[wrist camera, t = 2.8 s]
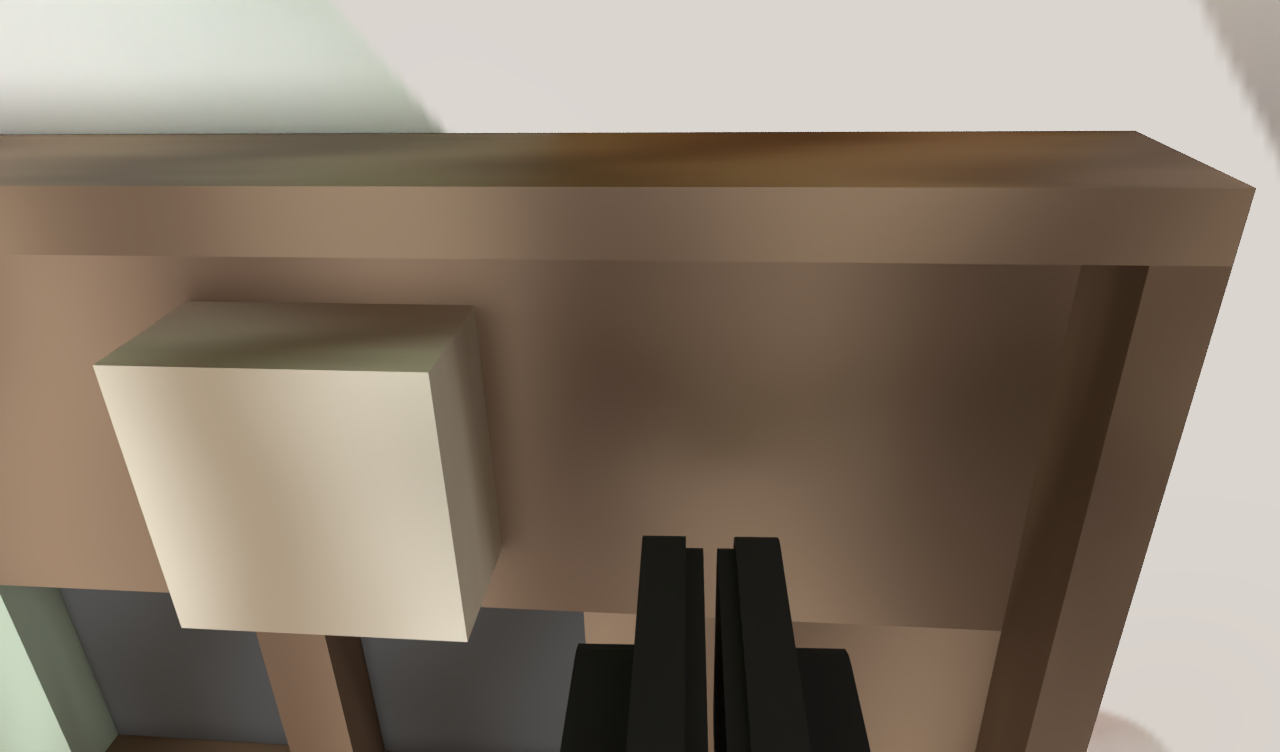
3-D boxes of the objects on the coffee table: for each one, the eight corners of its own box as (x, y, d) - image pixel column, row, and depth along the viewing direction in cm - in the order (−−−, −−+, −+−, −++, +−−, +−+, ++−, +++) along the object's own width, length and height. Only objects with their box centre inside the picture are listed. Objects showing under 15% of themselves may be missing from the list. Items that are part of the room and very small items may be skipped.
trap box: (1135, 131, 14) (1255, 188, 11) (978, 810, 21) (1022, 963, 18) (-489, 136, 16) (-776, 184, 13) (-130, 739, 23) (-260, 862, 20)
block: (474, 305, 14) (427, 372, 12) (502, 547, 17) (467, 641, 14) (187, 301, 15) (92, 365, 13) (252, 537, 17) (181, 627, 15)
